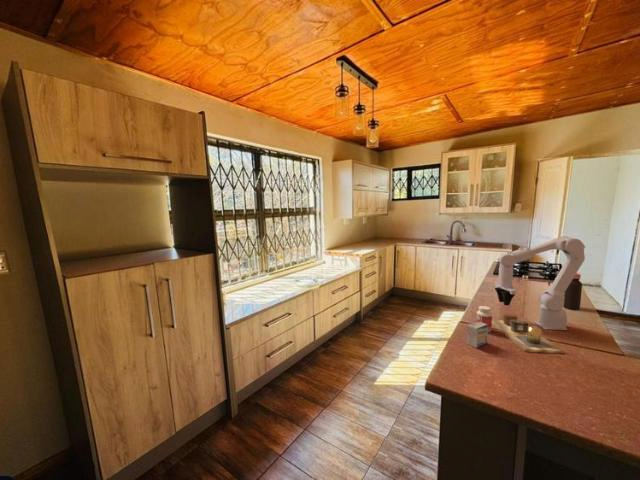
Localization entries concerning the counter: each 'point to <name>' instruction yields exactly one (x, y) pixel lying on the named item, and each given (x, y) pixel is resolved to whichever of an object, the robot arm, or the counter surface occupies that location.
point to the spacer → (534, 334)
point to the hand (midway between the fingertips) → (504, 303)
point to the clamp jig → (525, 337)
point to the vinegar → (573, 294)
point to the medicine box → (477, 334)
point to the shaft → (512, 318)
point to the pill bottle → (485, 316)
